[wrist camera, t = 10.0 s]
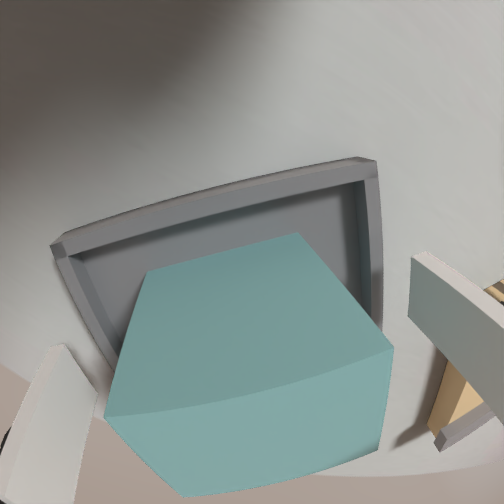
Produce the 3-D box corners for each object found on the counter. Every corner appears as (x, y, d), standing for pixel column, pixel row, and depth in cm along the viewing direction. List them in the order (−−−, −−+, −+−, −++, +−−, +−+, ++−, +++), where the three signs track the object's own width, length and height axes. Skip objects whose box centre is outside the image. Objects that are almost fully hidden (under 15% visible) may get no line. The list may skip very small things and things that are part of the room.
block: (146, 271, 12) (103, 417, 5) (297, 232, 12) (393, 347, 5) (183, 357, 13) (183, 497, 7) (311, 324, 14) (377, 450, 7)
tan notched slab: (452, 305, 16) (489, 339, 12) (518, 270, 16) (551, 293, 13) (419, 428, 21) (437, 456, 18) (478, 392, 22) (498, 416, 18)
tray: (64, 232, 11) (49, 245, 9) (357, 156, 12) (376, 161, 10) (145, 392, 14) (142, 413, 13) (368, 335, 15) (380, 352, 14)
